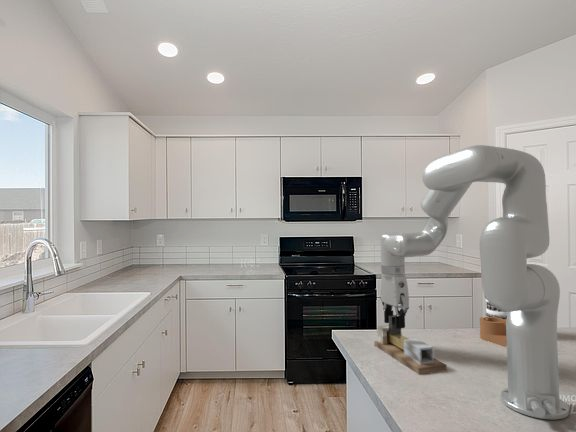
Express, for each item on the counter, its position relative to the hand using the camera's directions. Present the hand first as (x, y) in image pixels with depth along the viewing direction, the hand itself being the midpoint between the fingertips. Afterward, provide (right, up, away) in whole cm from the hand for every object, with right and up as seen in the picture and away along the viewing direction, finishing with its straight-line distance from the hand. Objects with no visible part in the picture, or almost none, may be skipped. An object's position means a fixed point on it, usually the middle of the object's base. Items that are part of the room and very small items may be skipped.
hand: (394, 324), depth 117 cm
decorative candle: (+43, -8, +14) cm, 46 cm away
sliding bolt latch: (+2, -8, -7) cm, 11 cm away
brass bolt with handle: (+1, -6, -4) cm, 7 cm away
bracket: (+40, -8, +4) cm, 41 cm away
